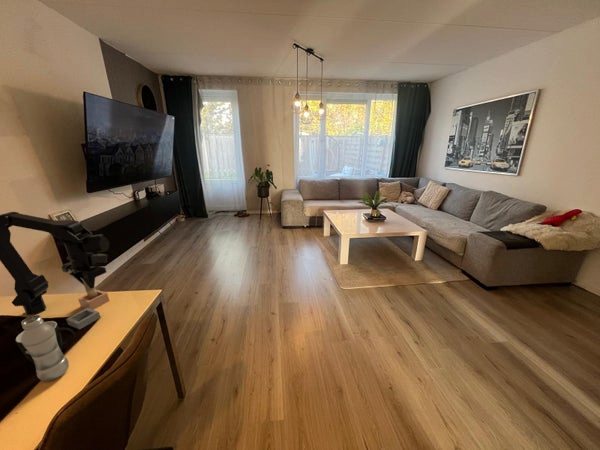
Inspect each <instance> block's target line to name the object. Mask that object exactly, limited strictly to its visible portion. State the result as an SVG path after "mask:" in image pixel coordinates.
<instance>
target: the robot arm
mask: <svg viewBox="0 0 600 450" xmlns="http://www.w3.org/2000/svg"><path fill="white" fill-rule="evenodd" d="M11 227H17V228H18V227H19V228H22V229H23V228H24V229H30V230H34V231H39V232H44V233H49V234H50V235H51V236H52V237H55V238H58V239H60V240H59V241H58V242H56V244H57V245H58V246H61V245H64V247H65V250H66V253H67V255H68V256H66V260H67V261H68V262H66V263H63V264H62V266H61V270H62V272H64V273H69V271H70V273H69V276H71V277H73V278H74V279H75V280H77V281H78V282H79V283H80V284H82V285H83V286H84V284H83V282H84V283H85V284H86V285H87V286H88V287H90V288H91V289H92V288H94V285H96V284H95V283H96V278H97V277H99V276H102V275H104V274H107V269H106V267H104V266H102V265H97V264H98V263H99V264H100V263H104V264H105V263H107V262H108V254H105V253H101V252H107V251H108V250H109V248H110V240H109V239H108V238H107V237H106V236H104V234H101V233H100V234H93V232H91V231H90V230H89V229H87V228H86V227H85V226H83V224H82V223H81V221H78V220H71V219H63V220H60V219H59V220H56V219H55V220H54V219H50V218H43V217H38V216H35V215H34V216H33V215H28V214H23V213H19V212H17V211H10V212H5V213H3V214H0V262H1V264H2V265H3V267H4V268H5V270H7V271H8V273H9V274H10V276H11V278H13V280H14V288H13V289H14V291H15V293H16V296H15V297H14V299H13V300H12V301H11V304H12V305H13V306H14V307H22V308H23V309H24V312H23V313H22V315H25V314H26V315H27V316H29V315H31V316H35V315H38V314H39V315H40V314H41V313H43V312H45V311H47V309H46V308H47V305H46V302H45V301H44V298H43V296H44V295H46V294H47V291H48V288H49V281H48V280H47V279H46V278H45V275H43V274H39V275H38V274H35V273H33V271H32V270H31V269H30V268H29V266H28V265H27V263H26V261H25V260H24V259H23V258H22V256H21V254H19V252H18V251H17V250H16V247H15V246H14V245H13V244H12V241H11V235H12V233H11V231H10V228H11ZM99 252H100V253H99Z"/></svg>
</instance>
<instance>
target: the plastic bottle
mask: <svg viewBox="0 0 600 450" xmlns="http://www.w3.org/2000/svg"><path fill="white" fill-rule="evenodd" d="M44 322H45V321H44V319H43V318H42V316H41V315H40V314H39V315H38V314H35V315H31V316H29V317H26V318H25V319H23V320H22V321H20V323H21V326H22V329H23V331H25V332H24V333H23V335H22V338H21V342H22V344H23V346H24V347H25V348H26V349H27V350H28V352H29V353H30V355H31V356H32V358H33V360H34V363H35V364H34V363H33V364H34V365H35V373H36V376H37V378H38V379H39V380H40V381H43V382H51V381H54V380H57V379H58V378H60V377H62V376H63V375H64V374H65V373H66V372H67V371H68V368H69V367H70V363H69V360H68V358H67V356H66V355H64V353H63V352H62V351H61V350H60V348H59V345H58V342H57V339H56V333H55V329H54V327H52V326H51V325H49V324H45V323H44Z"/></svg>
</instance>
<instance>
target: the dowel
mask: <svg viewBox="0 0 600 450" xmlns="http://www.w3.org/2000/svg"><path fill="white" fill-rule="evenodd" d="M83 284H84V285H83ZM83 284H82V285H83V287H84V289H85V292H86V295H88V298H89V300H92V299H94V298H96V297H98V294H97V291H96V290H97V289H96V286H95V285H96V284H94V288H92V289H91V288H90V287H88V286H87V285H86V284H85V283H84V282H83Z"/></svg>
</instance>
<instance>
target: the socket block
mask: <svg viewBox="0 0 600 450" xmlns="http://www.w3.org/2000/svg"><path fill="white" fill-rule="evenodd" d="M100 318H101V315H100V312H99V311H97V310H95V309H94V310H92V309H90V308H86V309H85V308H84V309H83V310H80V311H79V312H77V313H75V314H74V315H71V316H70V317H68V318H66V319H65V320H66V322H67V324H68V326H70V327H73V328H75V329H78V330H81V329H83V328H85V327H87V326H88V325H90V324H92V323H93V322H95V321H97V320H99V319H100Z"/></svg>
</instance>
